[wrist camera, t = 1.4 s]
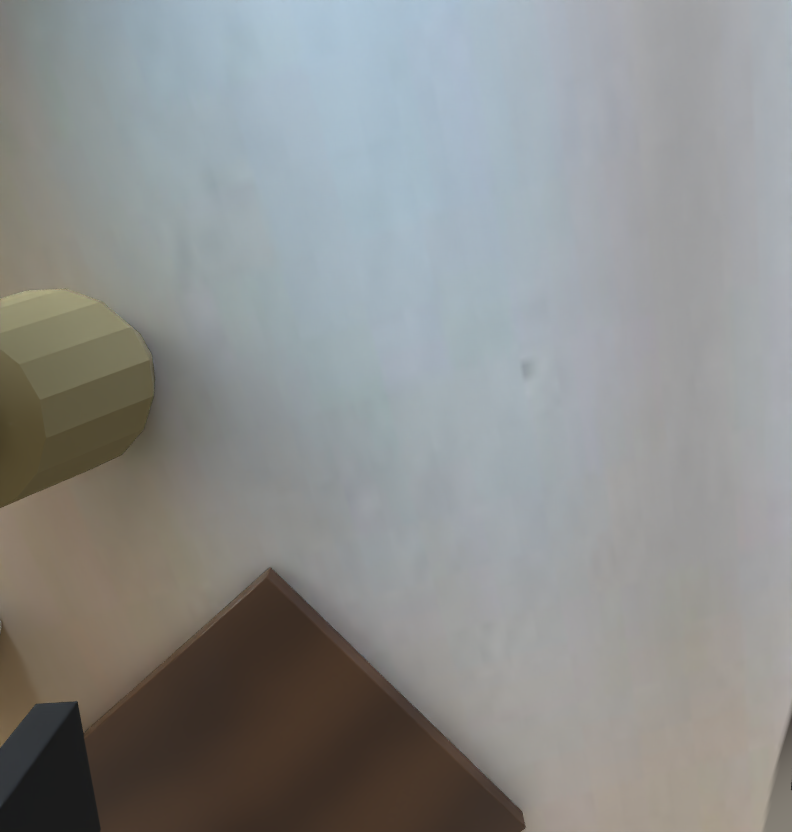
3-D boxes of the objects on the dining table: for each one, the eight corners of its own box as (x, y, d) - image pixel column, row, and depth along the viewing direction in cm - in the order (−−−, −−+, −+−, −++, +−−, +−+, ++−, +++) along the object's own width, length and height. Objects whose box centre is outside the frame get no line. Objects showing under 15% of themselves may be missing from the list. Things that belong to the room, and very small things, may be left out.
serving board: (-32, 835, 40) (-45, 852, 39) (270, 566, 37) (266, 576, 35) (222, 1040, 43) (217, 1062, 42) (522, 811, 40) (526, 828, 38)
